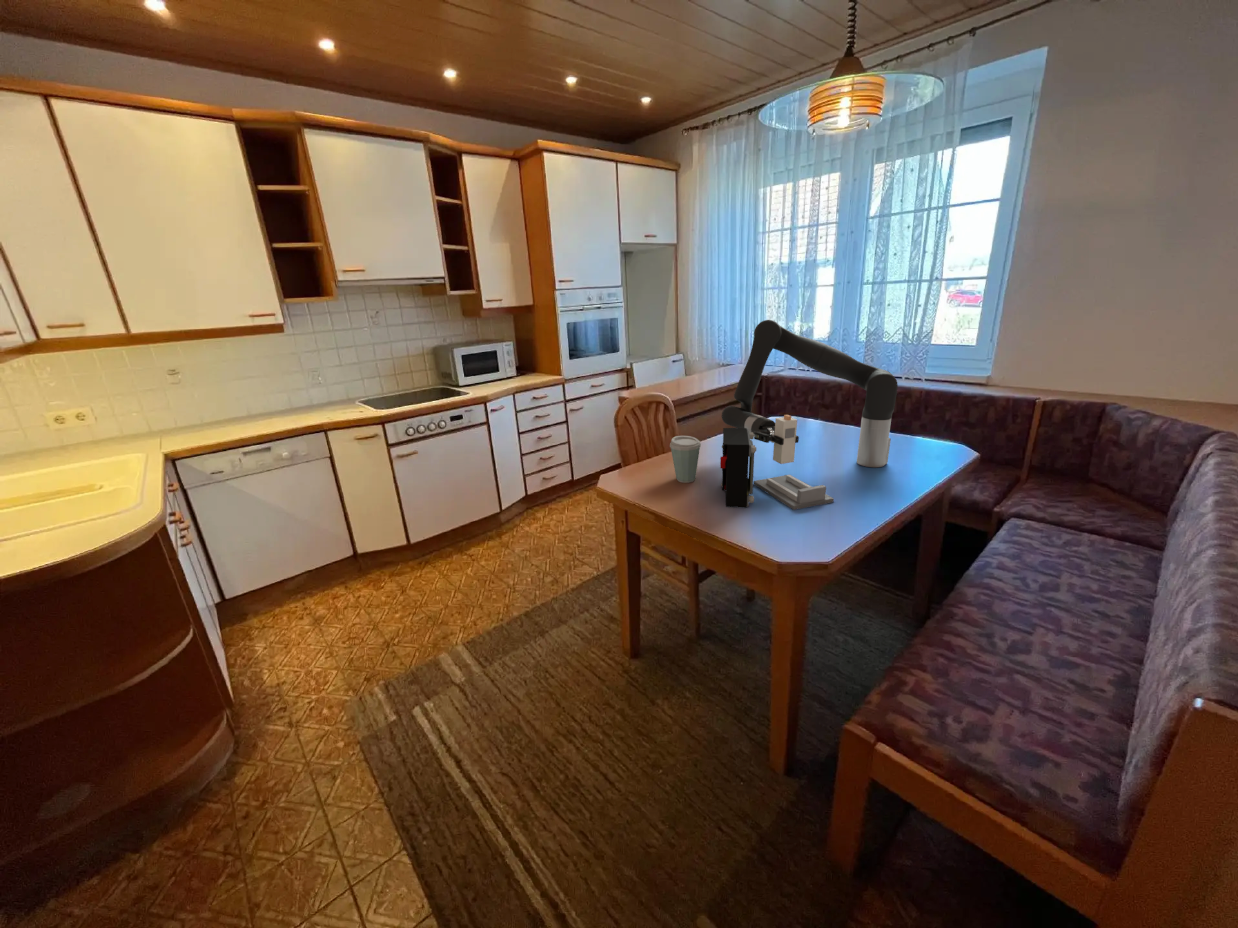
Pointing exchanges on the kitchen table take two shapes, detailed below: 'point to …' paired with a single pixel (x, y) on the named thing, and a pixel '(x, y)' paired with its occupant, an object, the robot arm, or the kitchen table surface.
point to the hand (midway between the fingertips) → (790, 440)
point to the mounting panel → (794, 492)
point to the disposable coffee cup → (685, 457)
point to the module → (785, 439)
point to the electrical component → (737, 466)
